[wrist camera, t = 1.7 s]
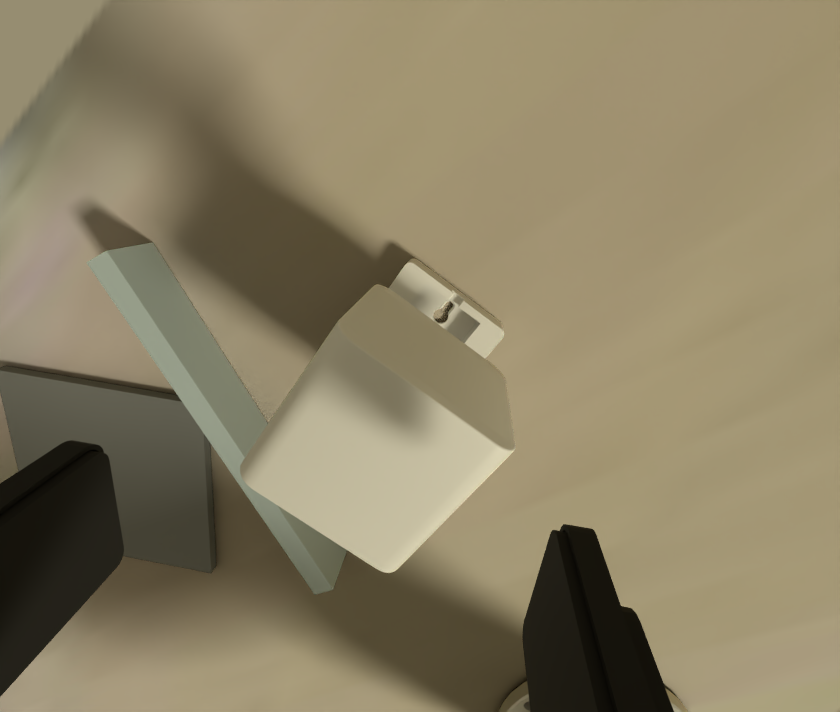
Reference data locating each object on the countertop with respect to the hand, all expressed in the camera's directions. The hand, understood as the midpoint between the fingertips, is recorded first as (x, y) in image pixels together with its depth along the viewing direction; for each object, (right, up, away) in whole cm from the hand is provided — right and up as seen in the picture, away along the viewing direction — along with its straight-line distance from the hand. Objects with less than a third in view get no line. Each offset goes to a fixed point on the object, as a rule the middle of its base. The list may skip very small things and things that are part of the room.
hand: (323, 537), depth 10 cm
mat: (-16, -3, +18) cm, 25 cm away
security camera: (+2, +4, +13) cm, 14 cm away
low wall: (-7, 0, +16) cm, 17 cm away
